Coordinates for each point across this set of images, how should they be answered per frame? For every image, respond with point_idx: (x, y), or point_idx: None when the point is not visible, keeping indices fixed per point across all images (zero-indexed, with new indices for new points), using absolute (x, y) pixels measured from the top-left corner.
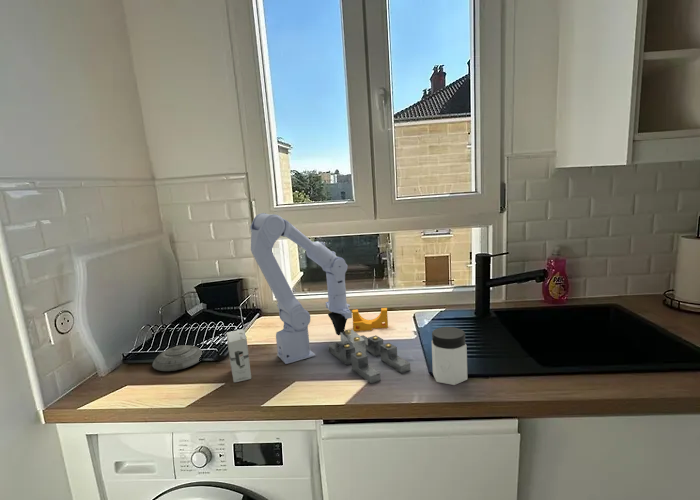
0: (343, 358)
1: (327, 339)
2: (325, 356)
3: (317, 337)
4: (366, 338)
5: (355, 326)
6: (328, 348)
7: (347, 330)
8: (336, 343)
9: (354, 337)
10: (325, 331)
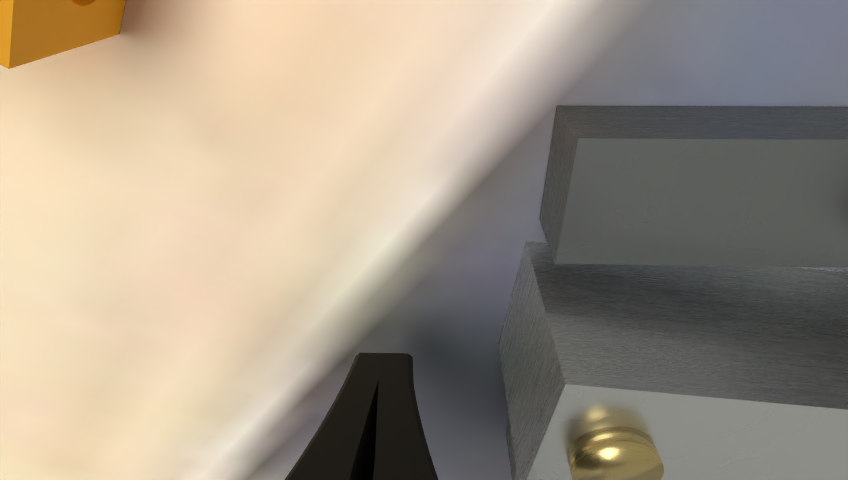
0: None
1: (254, 360)
2: None
3: (164, 395)
4: (722, 165)
5: (71, 8)
6: (511, 457)
7: (603, 474)
8: None
9: (839, 469)
10: (15, 299)
